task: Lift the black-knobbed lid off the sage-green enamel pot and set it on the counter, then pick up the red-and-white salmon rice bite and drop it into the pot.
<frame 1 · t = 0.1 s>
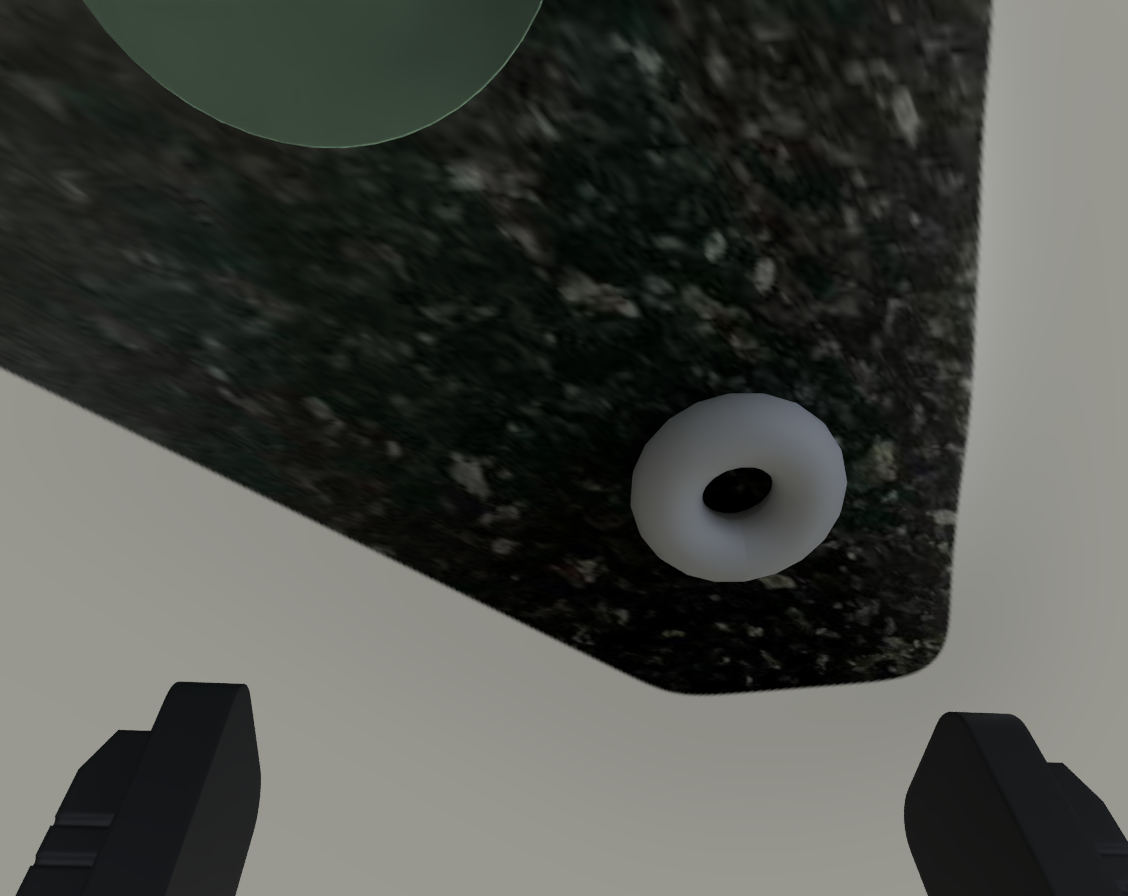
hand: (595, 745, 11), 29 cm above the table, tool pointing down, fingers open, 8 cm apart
donut: (730, 468, 44), on the table
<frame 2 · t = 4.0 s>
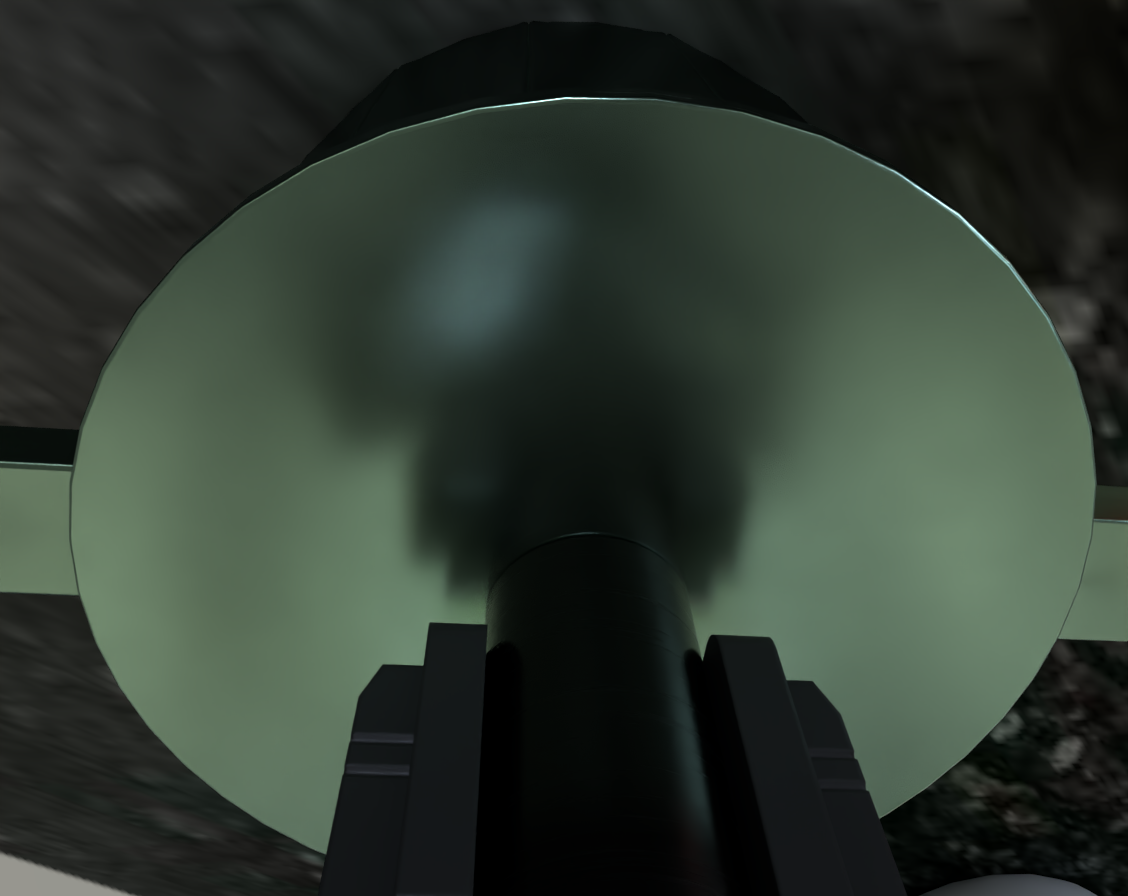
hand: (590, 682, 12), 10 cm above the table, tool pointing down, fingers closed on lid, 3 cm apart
pot: (566, 333, 20), on the table
lid: (585, 591, 13), point 9 cm above the table, touching gripper, pot
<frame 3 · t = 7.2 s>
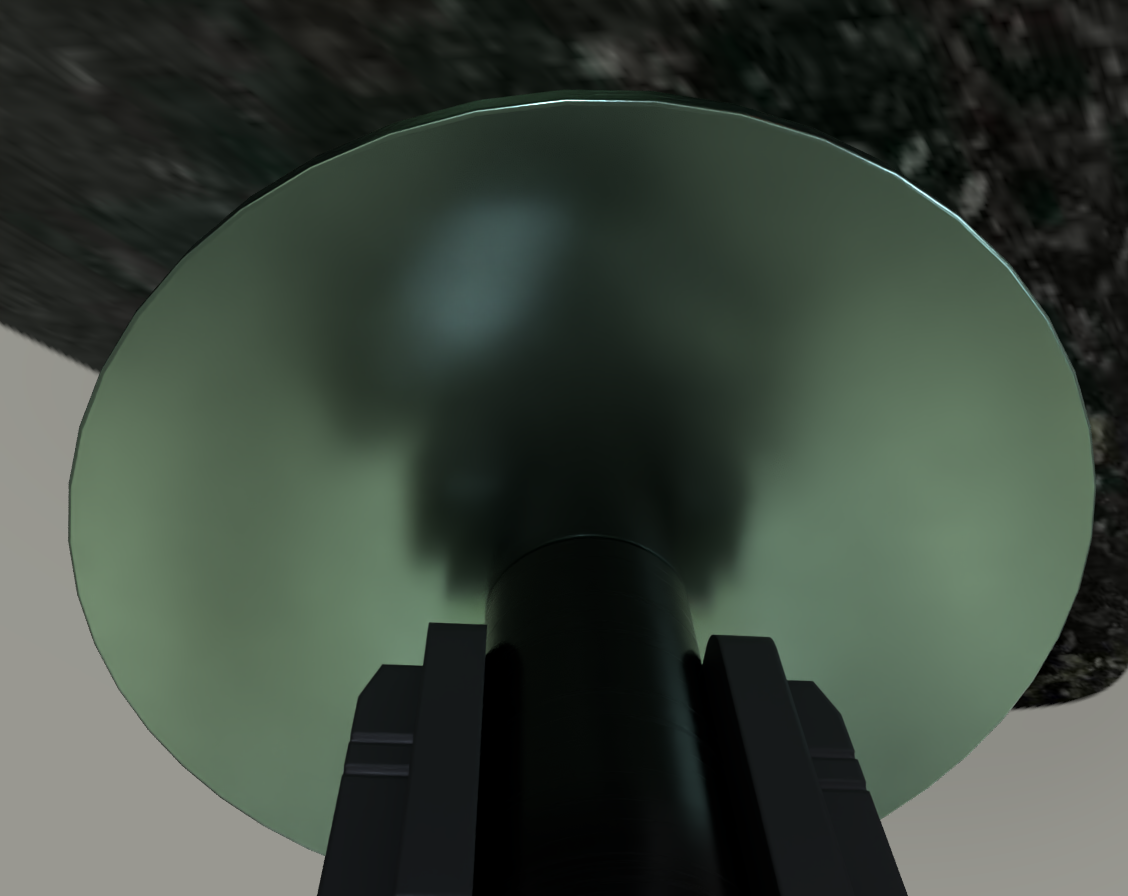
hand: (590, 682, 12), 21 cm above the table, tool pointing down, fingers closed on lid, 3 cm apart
lid: (585, 592, 13), point 19 cm above the table, touching gripper
when the fingers open (2 cm above the table, at t = 10.8 s): lid stays where it is, point 1 cm above the table.
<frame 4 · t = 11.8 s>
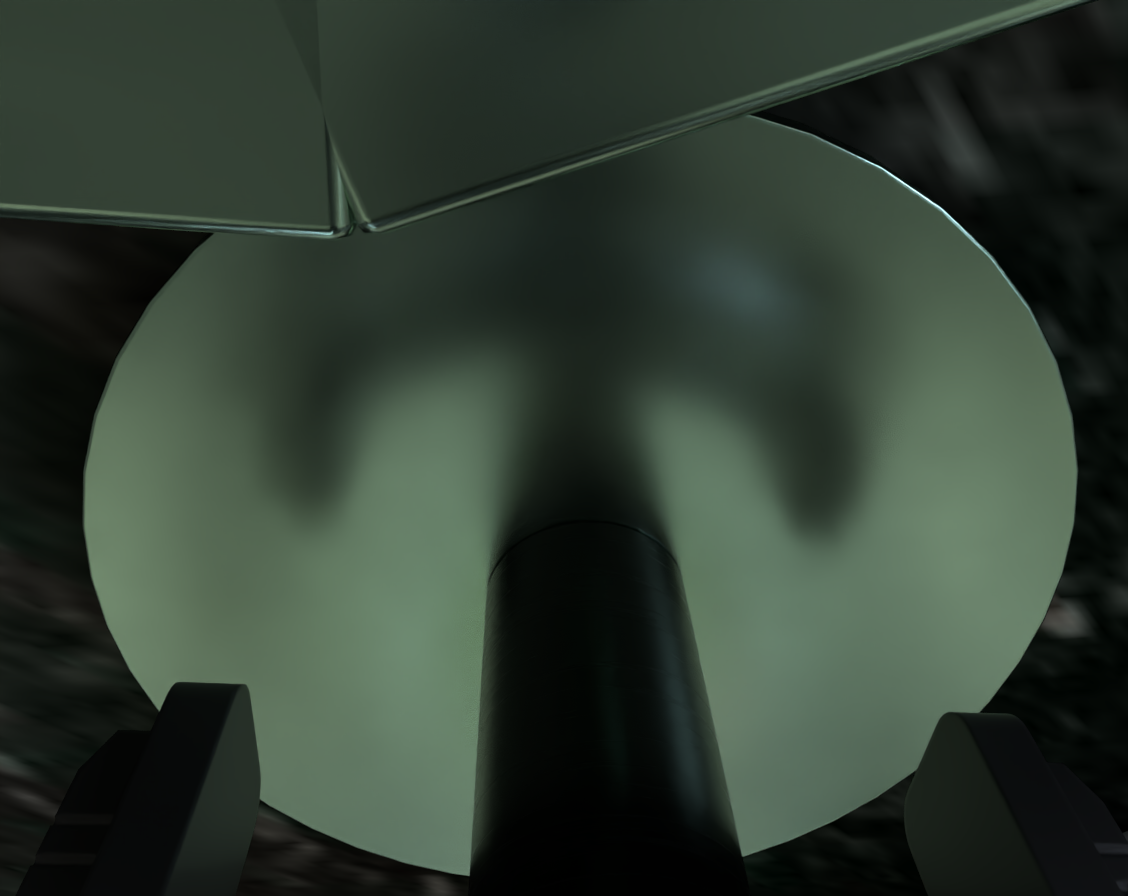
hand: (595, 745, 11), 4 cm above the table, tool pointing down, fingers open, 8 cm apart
lid: (583, 576, 13), point 1 cm above the table
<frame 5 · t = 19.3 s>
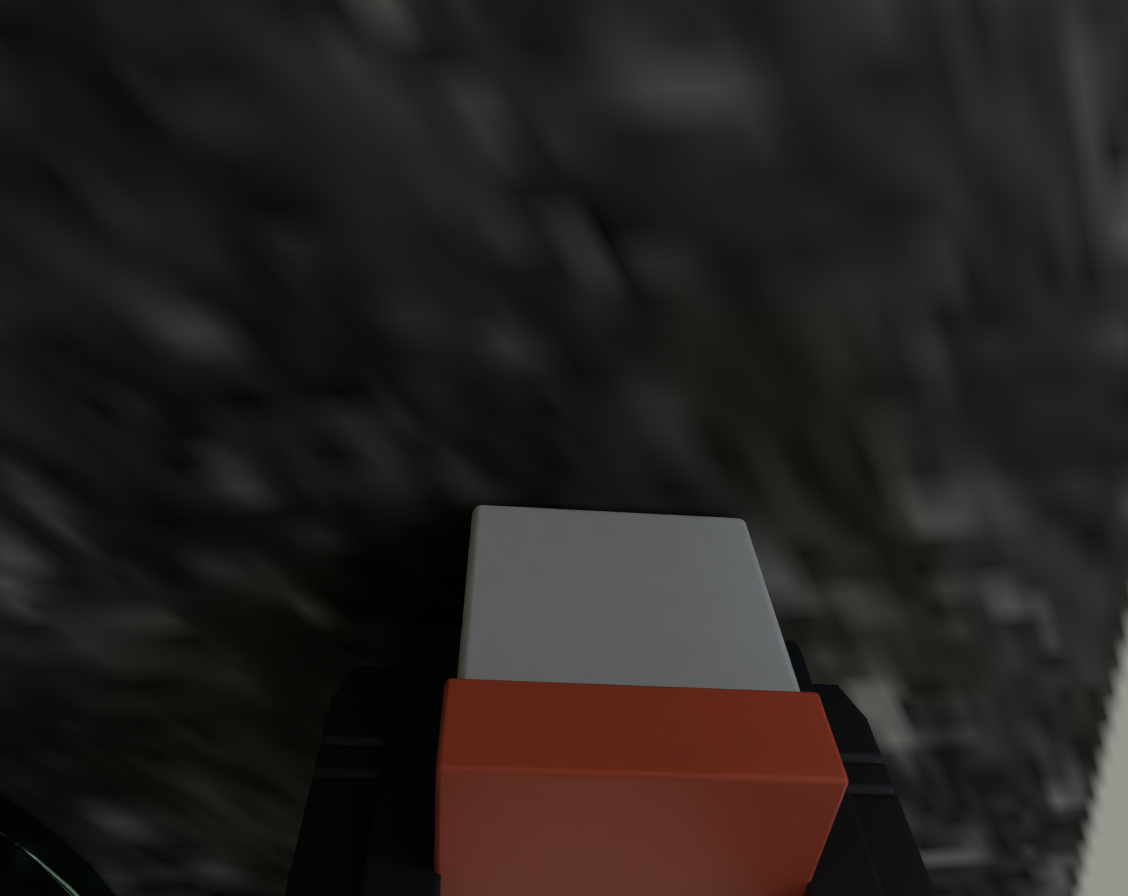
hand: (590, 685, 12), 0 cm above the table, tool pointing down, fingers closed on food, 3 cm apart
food: (590, 657, 12), on the table, touching gripper
when the fingers open (7 cm above the table, at t = 25.9 s): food drops 6 cm, resting on pot.
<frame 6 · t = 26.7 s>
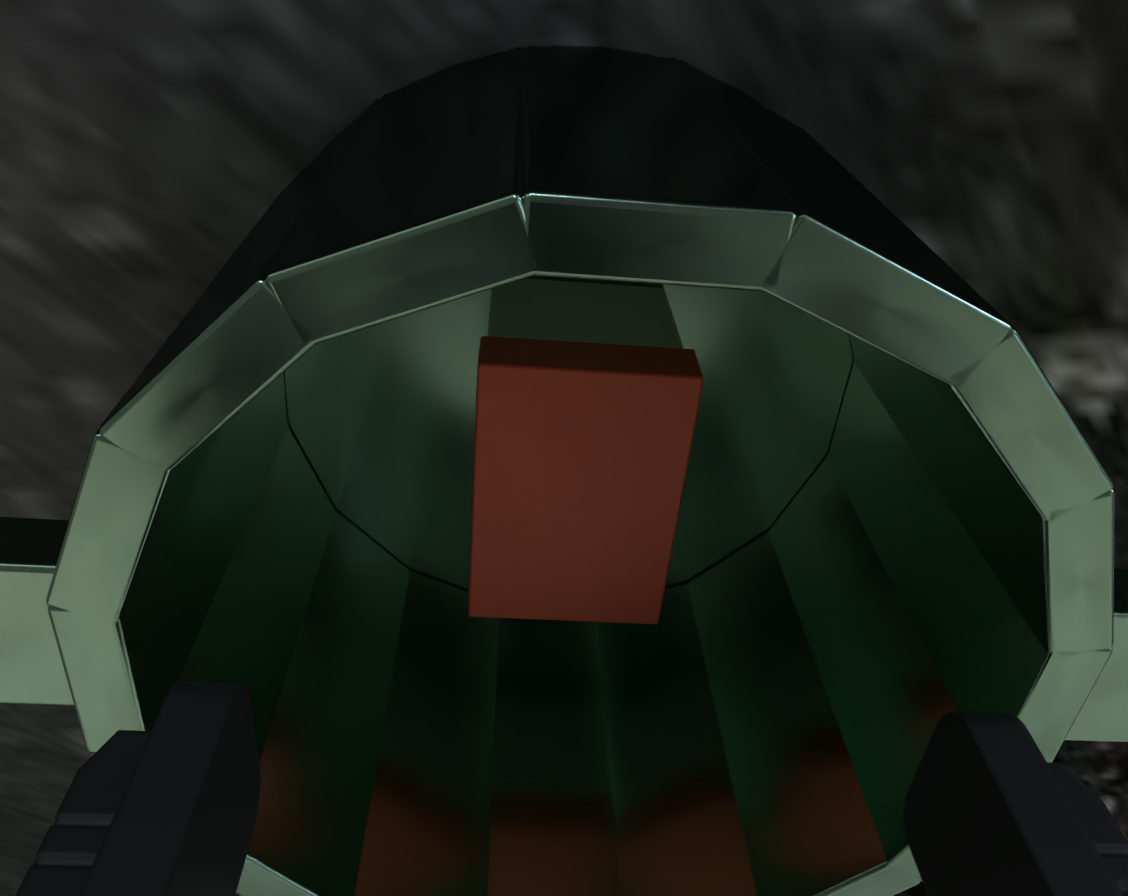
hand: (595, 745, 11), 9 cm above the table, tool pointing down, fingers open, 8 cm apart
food: (568, 394, 18), resting on pot
pot: (567, 381, 19), on the table
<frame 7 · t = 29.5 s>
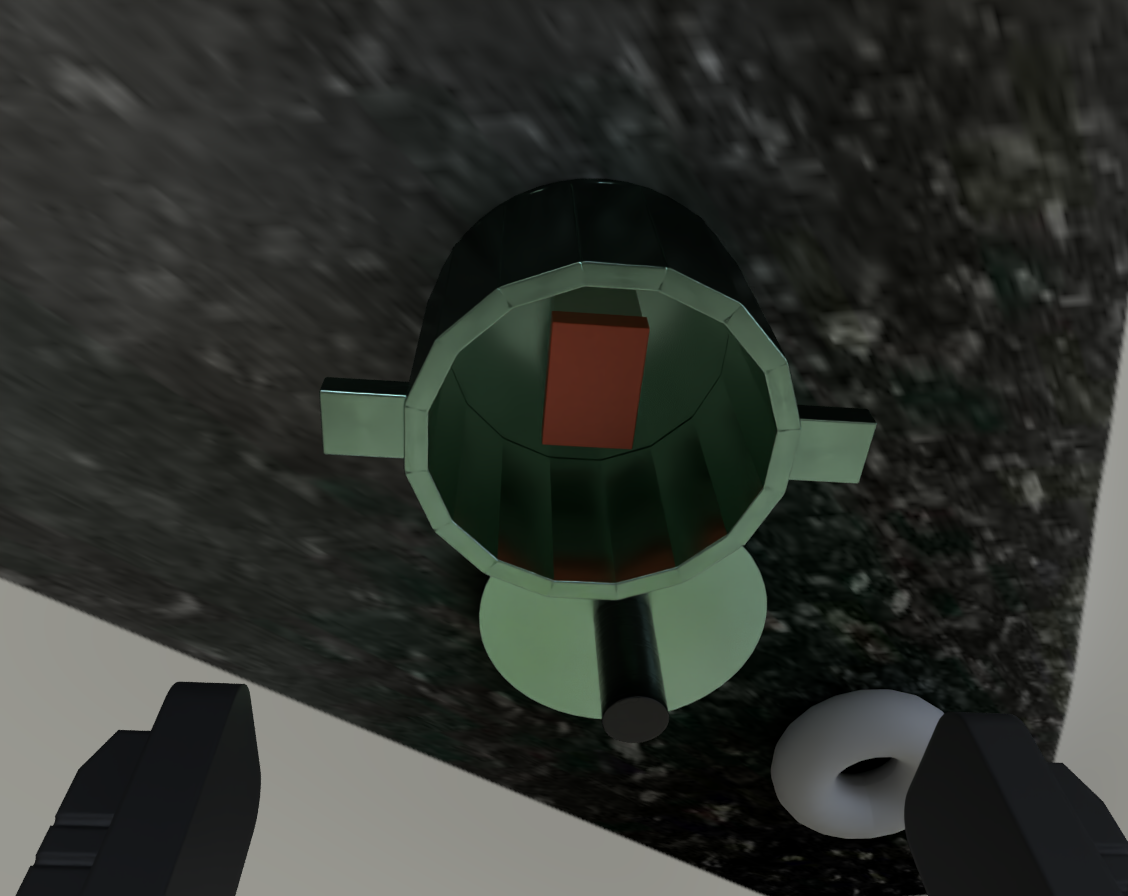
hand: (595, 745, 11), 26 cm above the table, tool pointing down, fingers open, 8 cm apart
donut: (855, 737, 50), on the table
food: (588, 342, 36), resting on pot
pot: (587, 336, 37), on the table
lid: (622, 613, 44), point 1 cm above the table
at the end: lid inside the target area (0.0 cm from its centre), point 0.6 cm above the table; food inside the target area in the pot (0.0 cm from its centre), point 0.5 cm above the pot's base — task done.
